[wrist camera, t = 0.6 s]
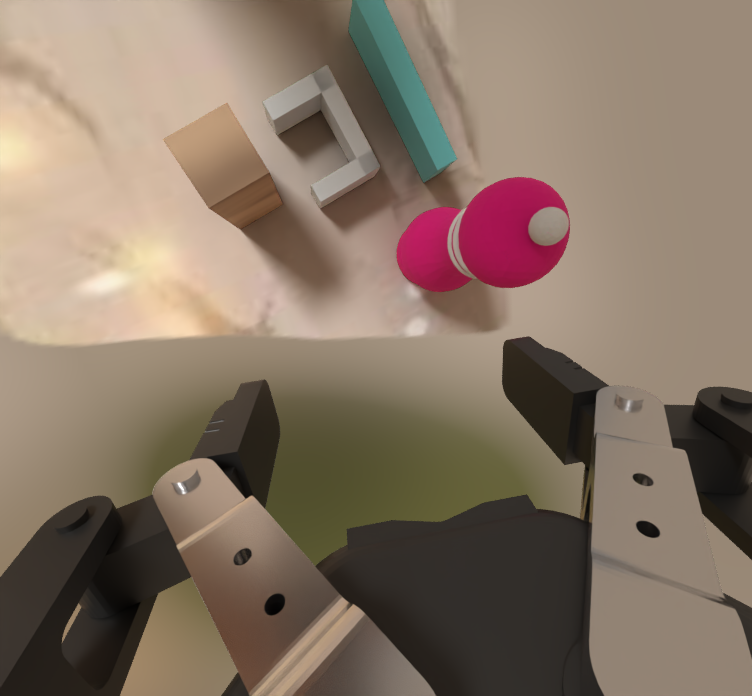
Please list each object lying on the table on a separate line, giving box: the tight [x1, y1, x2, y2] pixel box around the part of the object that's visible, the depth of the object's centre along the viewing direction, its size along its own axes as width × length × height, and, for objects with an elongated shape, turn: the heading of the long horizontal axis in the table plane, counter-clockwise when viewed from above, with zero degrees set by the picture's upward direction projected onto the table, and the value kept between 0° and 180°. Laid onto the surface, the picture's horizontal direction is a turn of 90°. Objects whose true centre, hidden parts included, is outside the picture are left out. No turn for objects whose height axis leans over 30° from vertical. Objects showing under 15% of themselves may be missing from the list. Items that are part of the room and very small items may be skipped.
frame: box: [263, 65, 380, 209], centre depth 30 cm, size 8×6×3 cm
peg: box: [163, 103, 283, 229], centre depth 27 cm, size 4×4×10 cm
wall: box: [348, 0, 457, 183], centre depth 31 cm, size 14×2×4 cm, turn 31°
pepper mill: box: [397, 177, 570, 292], centre depth 26 cm, size 7×7×20 cm
